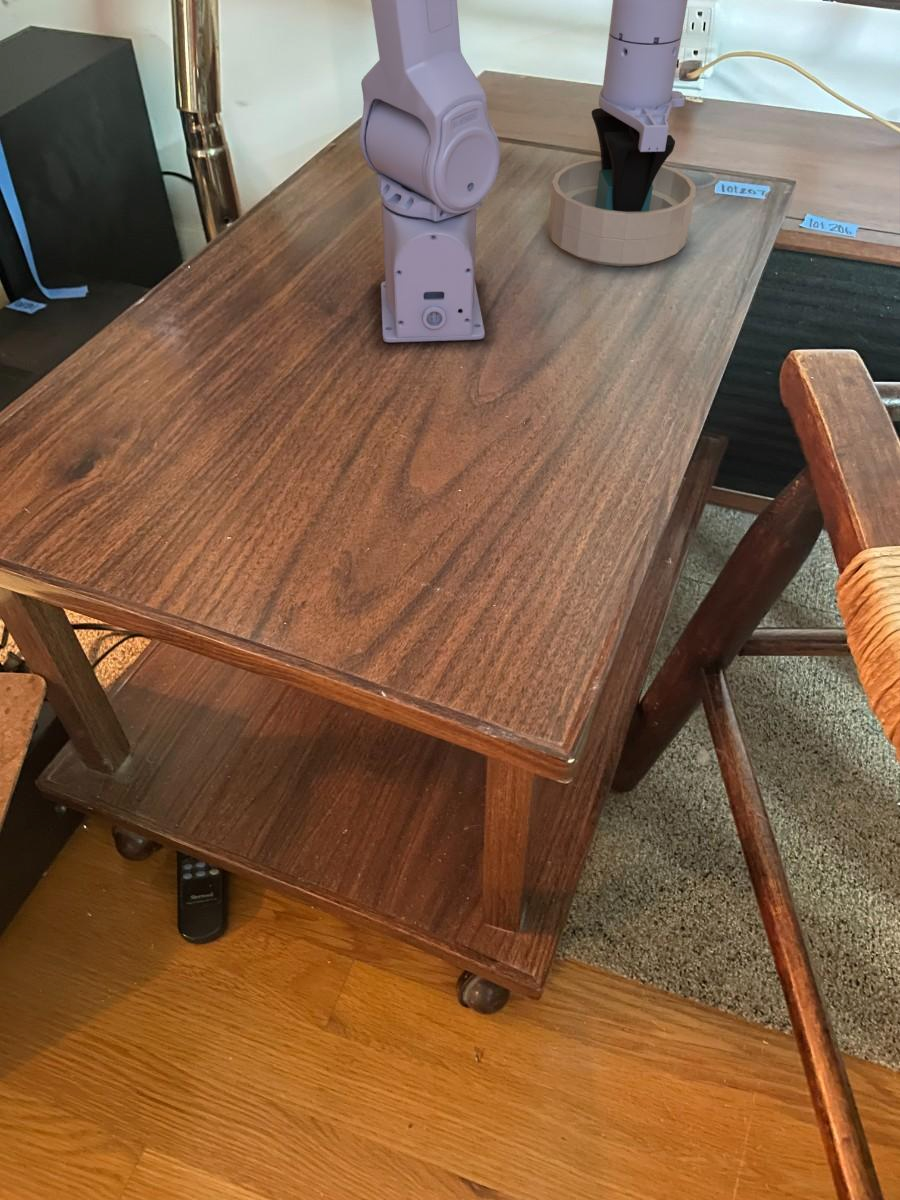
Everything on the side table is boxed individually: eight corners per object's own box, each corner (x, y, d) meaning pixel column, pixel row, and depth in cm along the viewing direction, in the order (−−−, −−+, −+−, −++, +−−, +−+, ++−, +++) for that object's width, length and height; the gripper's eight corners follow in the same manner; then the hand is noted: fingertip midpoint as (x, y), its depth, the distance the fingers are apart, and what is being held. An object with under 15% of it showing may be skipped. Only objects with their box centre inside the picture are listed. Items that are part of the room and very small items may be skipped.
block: (645, 231, 80) (653, 185, 77) (602, 232, 80) (608, 187, 77) (636, 212, 83) (643, 168, 80) (594, 214, 83) (599, 169, 80)
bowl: (700, 268, 78) (712, 211, 75) (559, 273, 78) (565, 215, 74) (666, 209, 87) (675, 156, 84) (539, 213, 86) (543, 159, 83)
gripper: (720, 61, 66) (684, 241, 76) (672, 10, 76) (646, 175, 86) (626, 62, 65) (602, 243, 75) (590, 11, 75) (573, 176, 85)
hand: (620, 207), depth 80 cm, fingers closed on block, 4 cm apart
